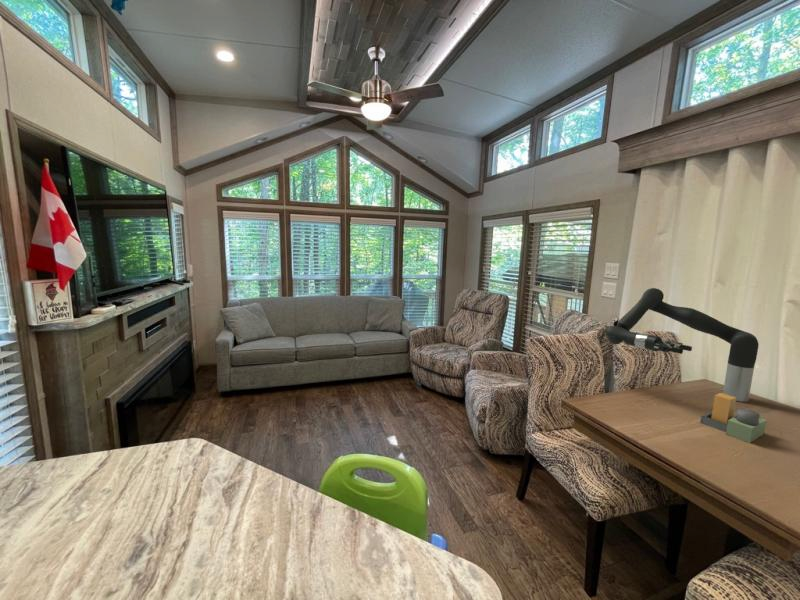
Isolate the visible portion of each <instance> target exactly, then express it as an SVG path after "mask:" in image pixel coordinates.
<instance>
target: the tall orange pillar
mask: <svg viewBox="0 0 800 600" xmlns="http://www.w3.org/2000/svg"><path fill="white" fill-rule="evenodd" d="M736 402H737V401H736V397H733V396H730V395H726V394H723V392H719V393H717V394H714V398H713V404H712V410H711V411H712V416H711V419H714V420H716V421H719V422H722V423H725V424H728V420H729V419H731V418H733V417H734V415H735V414H734V413H735V407H736Z"/></svg>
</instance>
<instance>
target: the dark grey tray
mask: <svg viewBox="0 0 800 600" xmlns="http://www.w3.org/2000/svg"><path fill="white" fill-rule="evenodd" d="M711 416H712V410H711V411H709V412H707V413H705V414H703V415H701V416H700V424H703V425H706V426H708V427H711V428H713V427H714V428H713V429H716V428H717V430H719V429H720V430H719V431H722V432H724V431H725V432H724V433H726V430H727V424H725V423H722V422H719V421H716V420H714V419H711Z"/></svg>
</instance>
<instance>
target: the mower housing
mask: <svg viewBox="0 0 800 600" xmlns="http://www.w3.org/2000/svg"><path fill="white" fill-rule="evenodd" d="M760 417H761V414H760V413H758V412H756V411H754V410H751V409H745V408H738V409H737V412H736V415H735V416H733V418H731V419H729V420H728V424H727V430H726V432H725V435H727V436H730V437H732V438H735V439H737V440H741V441H744V442H746V443H749V444H750V443H752V442H753V441H755V440H757V439H758V438H760V437H761V436H763V435H765V431H766V427H767V426H766V425H767V419H764V418H762V417H761V418H760Z"/></svg>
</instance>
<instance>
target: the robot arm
mask: <svg viewBox="0 0 800 600" xmlns="http://www.w3.org/2000/svg"><path fill="white" fill-rule="evenodd" d="M663 299H664V292H663V291H662V290H661V289H660V288H654V287H652V288H648V289H646V290H645V291H644V292H643V294H642V296H641V298H640V299H639V300H638V301H637V302H636V304H634V306H633V307H631V309H630V310H629V311H627V313H626V314H624V315H623V316H621V318H620V319H619V320H618V321H617V323H616V325H609V326H608V327H606V328H605V331H604V332H605V336H606V337H607V341H608V342H609V343H610V344H612V345H619V344H622V343H624V344H625V345H627V346H631V347H636V348H640V349H643V350H648V351H653V352H658V351H660V352H664V353H676V354H683V353H684V351H688V352H691V351H692V350H693V347H692V346H690V345H686V344H684V343H683V342H679V341H678V342H677V341H672V340H664V341H663V339H662V337H661V336H657V335H653V334H648V333H640V332H634V331H631V330H632V329H633V328H634V327H635V326H636V325H637V323H639V321H640V320H641V319H642V317H643V316H644V315H645V314H646V313H647V312H648V311H649V310H650V311H653V312H656V313H657V314H660V315H662V316H666V317H668V318H670V319H672V320H674V321H677V322H678V323H681V324H683V325H685V326H686V327H689V328H690V329H693V330H695V331H699V332H701V333H704V334H708V335H710V336H711V335H712V336H714V337H717V338H719V339H721V340H723V341H725V342H727V343H728V344H730V348H729V354H728V358H727V365H726V371H725V372H726V373H725V377H724V382H723V383H724V385H723V389H722V393H723V394H726V395H730V396H733V397H736V402H742V403H746V402H747V403H748V402H749V399H750V394H751V389H752V388H751V387H752V382H753V376H754V370H755V367H756V366H755V365H756V362H757V357H758V351H759V345H760V344H759V341H758V339H757V337H756V336H755V335H754V334H752V333H751V332H747V331H744V330H741V329H739V328H735V327H734V326H731V325H728V324H727V323H726V324H725V323H724V322H722V321H720V320H718V319H716V318H715V317H713V316H710V315H708V314H706V313H704V312H701V311H700V310H697V309H694V308H692V307H685V306H676V305H672V304H669V303H668V302H665V301H663Z"/></svg>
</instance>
